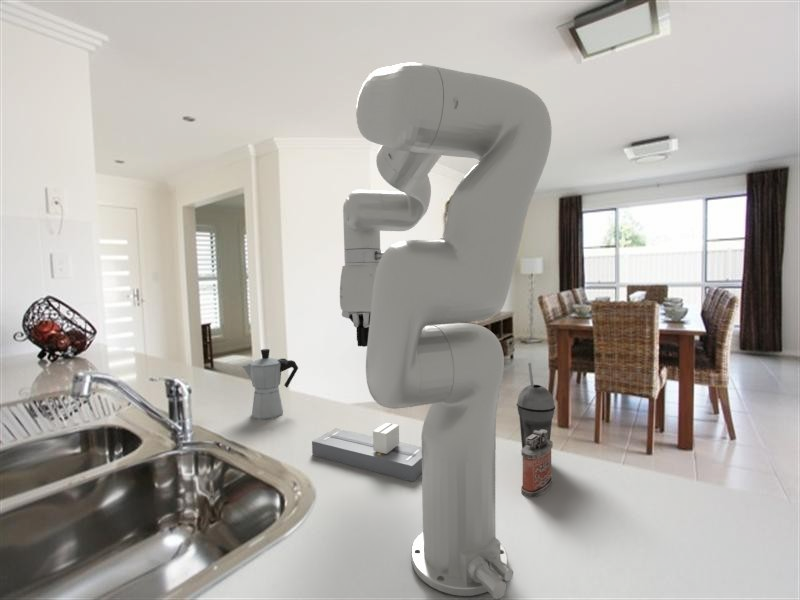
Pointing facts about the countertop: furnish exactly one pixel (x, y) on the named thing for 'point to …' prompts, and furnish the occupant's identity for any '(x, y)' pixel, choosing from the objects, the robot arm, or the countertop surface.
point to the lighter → (536, 464)
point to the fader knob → (386, 438)
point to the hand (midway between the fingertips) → (364, 345)
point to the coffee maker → (268, 384)
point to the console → (369, 454)
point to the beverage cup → (535, 409)
